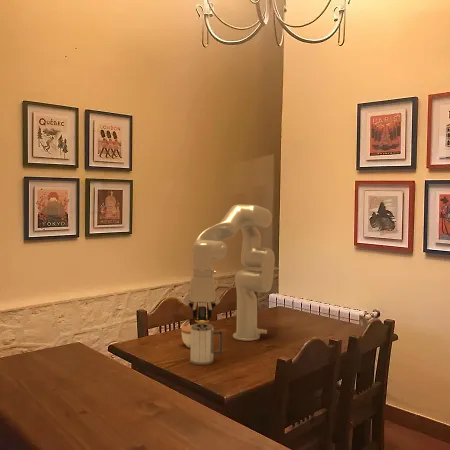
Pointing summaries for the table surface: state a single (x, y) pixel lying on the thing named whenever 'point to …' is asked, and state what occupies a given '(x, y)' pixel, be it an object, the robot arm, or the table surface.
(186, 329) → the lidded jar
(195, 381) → the table surface
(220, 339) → the cafetiere
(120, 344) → the table surface
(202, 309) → the plunger
